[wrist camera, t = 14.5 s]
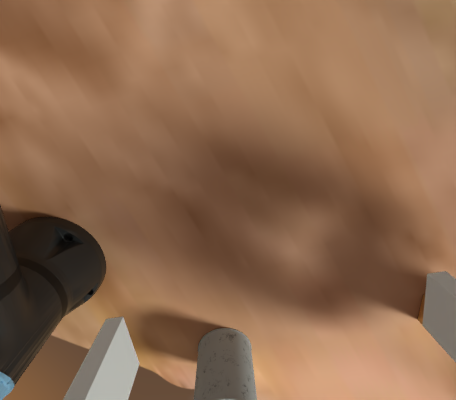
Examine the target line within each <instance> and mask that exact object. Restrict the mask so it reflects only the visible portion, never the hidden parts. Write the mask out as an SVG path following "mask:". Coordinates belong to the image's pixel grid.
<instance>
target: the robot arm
mask: <svg viewBox="0 0 456 400" xmlns="http://www.w3.org/2000/svg"><path fill="white" fill-rule="evenodd" d="M105 273H106V261H105V257H104V254H103V251H102V249H101V247H100V245H99V244H98V242H97V241H96V240H95V239H94V238H93V236H92V235H91V234H89V233H88V232H87V231H86V230H85V229H83V228H82V227H80V226H78V225H77V224H75V223H72V222H70V221H67V220H64V219H61V218H55V217H38V218H34V219H30V220H28V221H25V222H23V223H22V224H20V225H18V226H17V227H15V228H14V229H12V230H11V231H10V232H8V228H7V225H6V222H5V219H4V215H3V212H2V209H1V206H0V400H2V399H3V398H4V397H5V396H6V395H7V394H9V393H10V392H11V391H12V389H13V388H14V386H15V384H16V382H17V381H18V380H19V378H20V377H21V375H22V374H23V372H24V371H25V370H26V368H27V367H28V366H29V364H30V363H31V361H32V360H33V359H34V357H35V356H36V354H37V353H38V352H39V350H40V349H41V347H42V346H43V345H44V343H45V342H46V340H47V339H48V338H49V336H50V335H51V333H52V332H53V331H54V329H55V328H56V326H57V325H58V323H59V322H60V321H61V319H62V318H63V317H64V316H65V315H67V314H68V313H70V312H71V311H73V310H74V309H76V308H77V307H79V306H80V305H82V304H83V303H85V302H86V301H88V300H89V299H90V298H91V297H92V296H93V295H94V294H95V293H96V291H97V290H98V288H99V287H100V285H101V284H102V282H103V280H104V277H105ZM422 325H423V326H424V328H425V329H426V330H427V331H428V332H429V333H430V334H431V335H432V336H433V338H434V339H435V340H436V341H437V342H438V343H439V344H440V345H441V347H442V348H443V349H444V350H445V351H446V352H447V353H448V354H449V355H450V357H451V358H452V359H453V360H454V361H455V362H456V279H455V278H454V277H453V276H451V275H450V274H449V273H447V272H446V271H444V272H437V273H430V274H427V282H426V293H425V303H424V313H423V324H422ZM138 366H139V361H138V358H137V355H136V352H135V350H134V347H133V344H132V341H131V338H130V335H129V332H128V329H127V326H126V324H125V321H124V318H123V317H117V318H110V319H106V320H105V322H104V324H103V326H102V328H101V329H100V331H99V333H98V335H97V337H96V339H95V341H94V343H93V344H92V346H91V348H90V350H89V352H88V354H87V356H86V358H85V359H84V361H83V363H82V365H81V367H80V369H79V371H78V373H77V374H76V376H75V378H74V380H73V382H72V384H71V386H70V388H69V389H68V392H67V393H66V395H65V397H64V399H63V400H128V398H129V395H130V392H131V388H132V385H133V382H134V379H135V376H136V372H137V369H138Z"/></svg>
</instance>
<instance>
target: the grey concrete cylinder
mask: <svg viewBox="0 0 456 400" xmlns="http://www.w3.org/2000/svg"><path fill="white" fill-rule="evenodd" d="M251 350H252V349H251V343H250V341H249V339H248V338H247V337H246V335H244V334H243V333H242V332H240V331H238V330H235V329H231V328H220V329H216V330H212V331H210V332H209V333H207V334H206V335H205V336H203V338H202V339H201V340H200V343H199V345H198V360H197V371H196V382H195V392H194V400H257V396H256V387H255V379H254V370H253V362H252V353H251Z"/></svg>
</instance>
